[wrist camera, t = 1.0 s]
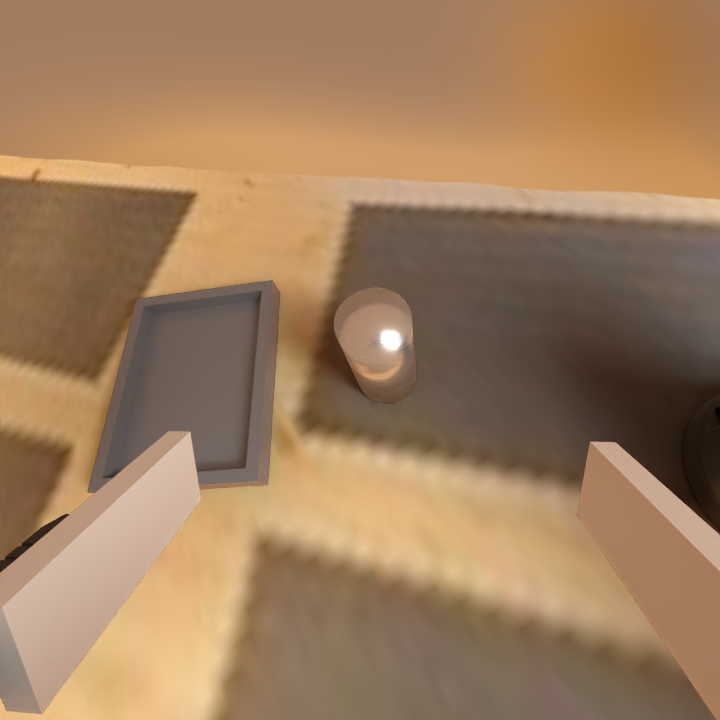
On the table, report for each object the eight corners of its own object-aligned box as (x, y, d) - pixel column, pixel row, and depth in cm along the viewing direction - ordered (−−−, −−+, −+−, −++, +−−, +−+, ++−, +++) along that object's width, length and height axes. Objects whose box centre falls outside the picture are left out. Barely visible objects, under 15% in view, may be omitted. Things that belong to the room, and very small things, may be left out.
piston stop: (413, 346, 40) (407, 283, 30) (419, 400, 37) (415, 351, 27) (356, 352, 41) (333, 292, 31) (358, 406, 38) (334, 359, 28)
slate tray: (280, 293, 46) (272, 280, 43) (268, 484, 36) (257, 481, 34) (150, 310, 48) (136, 299, 46) (107, 495, 39) (87, 492, 36)
